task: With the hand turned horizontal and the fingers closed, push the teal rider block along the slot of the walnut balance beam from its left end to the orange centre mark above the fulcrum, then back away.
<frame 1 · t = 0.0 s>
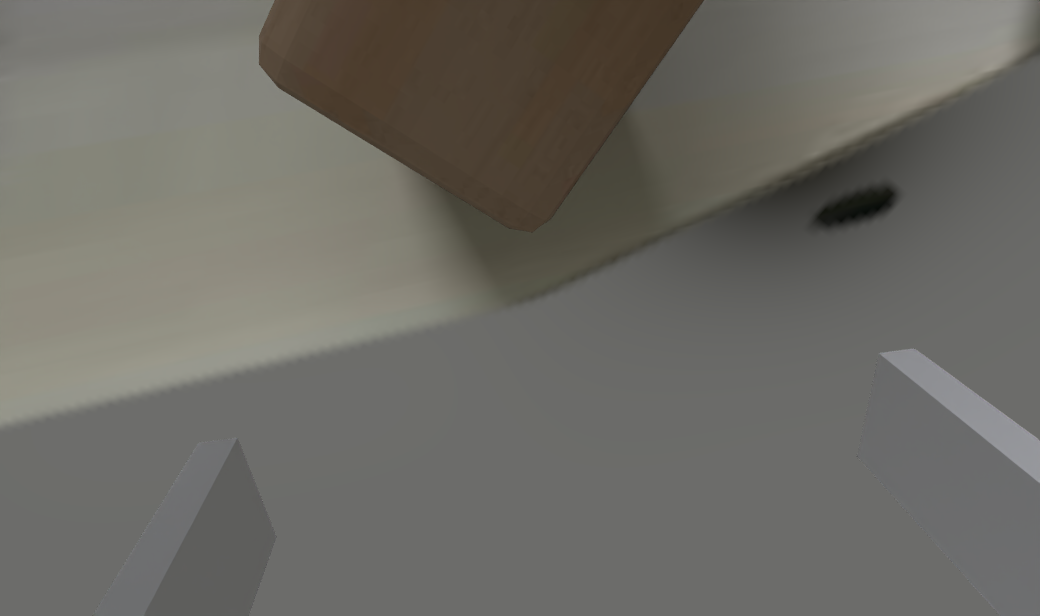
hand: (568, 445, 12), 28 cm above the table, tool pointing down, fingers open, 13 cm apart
wooden block: (474, 14, 34), on the table
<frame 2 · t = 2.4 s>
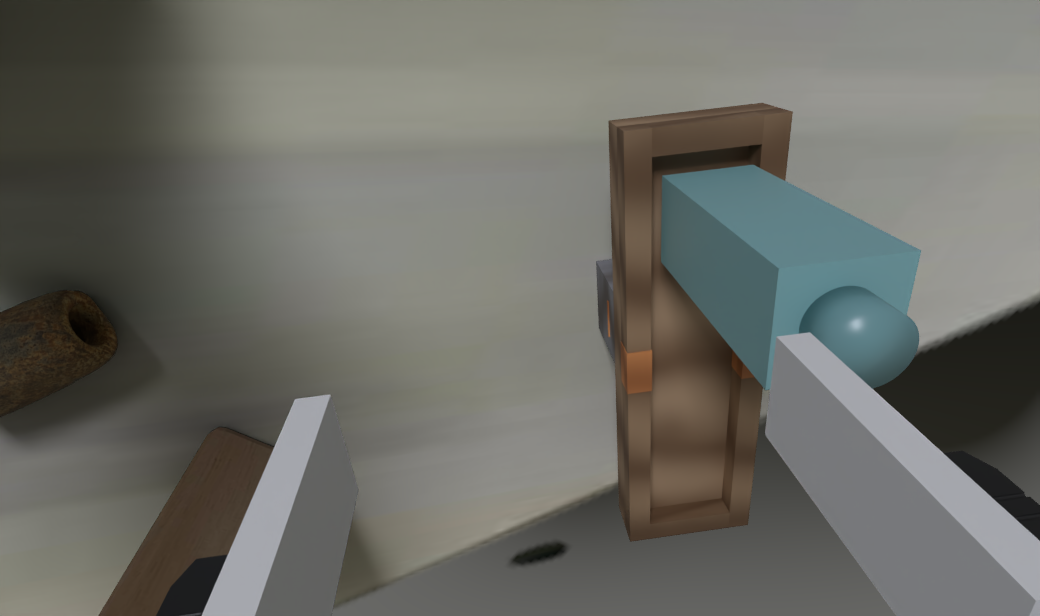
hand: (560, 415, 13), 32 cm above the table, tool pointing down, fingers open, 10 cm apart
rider: (760, 259, 27), point 18 cm above the table, slide at -10.0 cm
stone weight: (33, 341, 45), on the table
wooden block: (251, 478, 53), on the table
beam: (646, 289, 48), on the table
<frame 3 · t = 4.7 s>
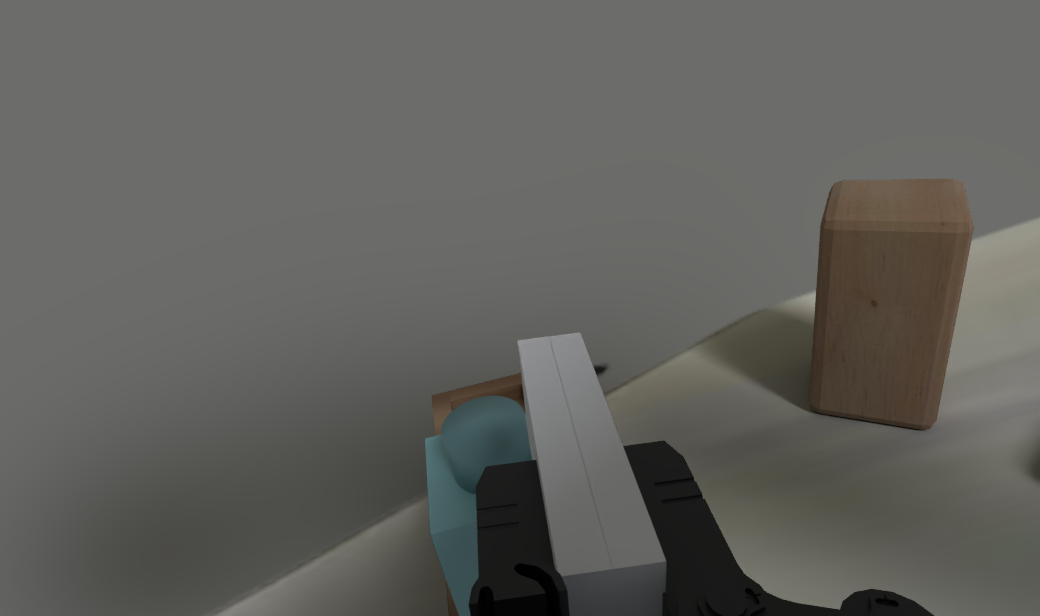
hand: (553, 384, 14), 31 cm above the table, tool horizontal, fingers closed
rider: (522, 575, 25), point 18 cm above the table, slide at -10.0 cm
wooden block: (870, 394, 57), on the table
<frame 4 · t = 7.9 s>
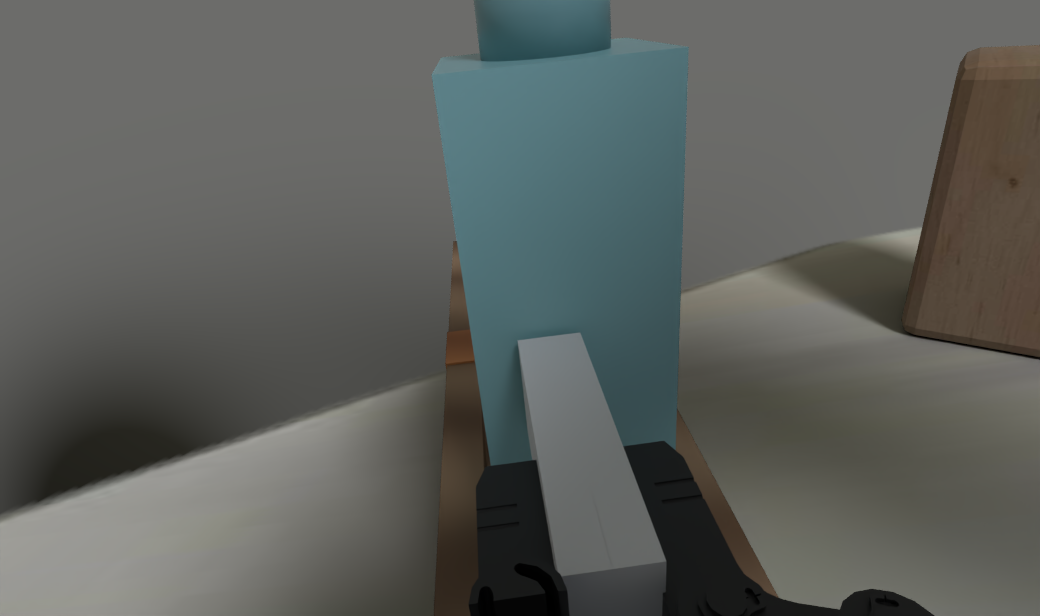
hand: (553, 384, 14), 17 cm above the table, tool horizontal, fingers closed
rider: (562, 296, 16), point 18 cm above the table, slide at -9.9 cm, touching gripper
wooden block: (976, 323, 47), on the table
beam: (556, 512, 34), on the table
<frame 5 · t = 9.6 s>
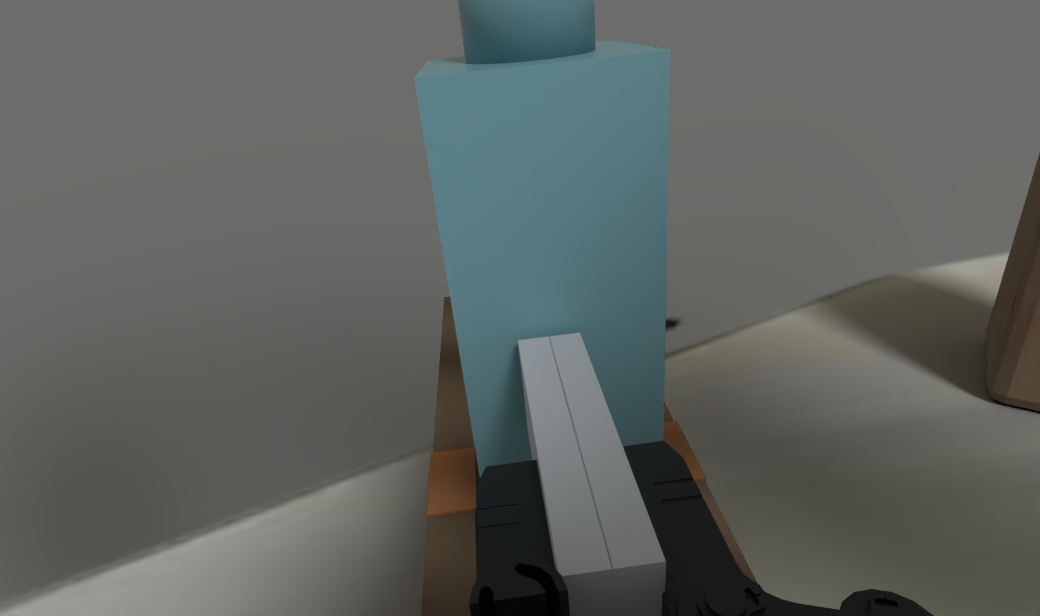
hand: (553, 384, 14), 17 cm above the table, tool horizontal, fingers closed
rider: (549, 298, 16), point 18 cm above the table, slide at -0.9 cm, touching gripper
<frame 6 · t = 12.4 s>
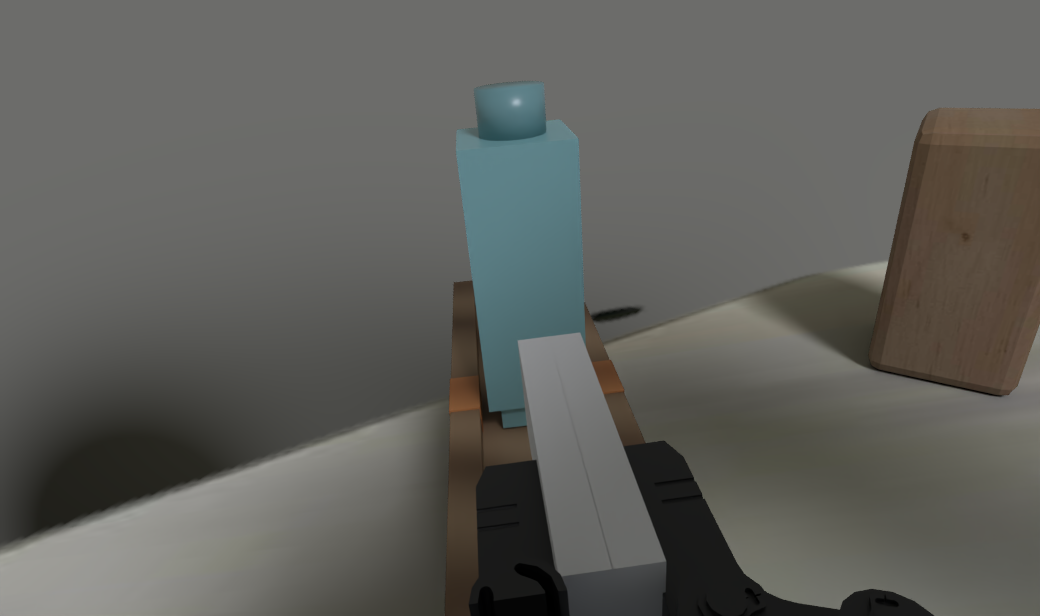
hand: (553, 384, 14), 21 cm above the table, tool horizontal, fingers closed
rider: (523, 264, 29), point 18 cm above the table, slide at 0.3 cm
wooden block: (937, 359, 51), on the table
beam: (546, 538, 37), on the table
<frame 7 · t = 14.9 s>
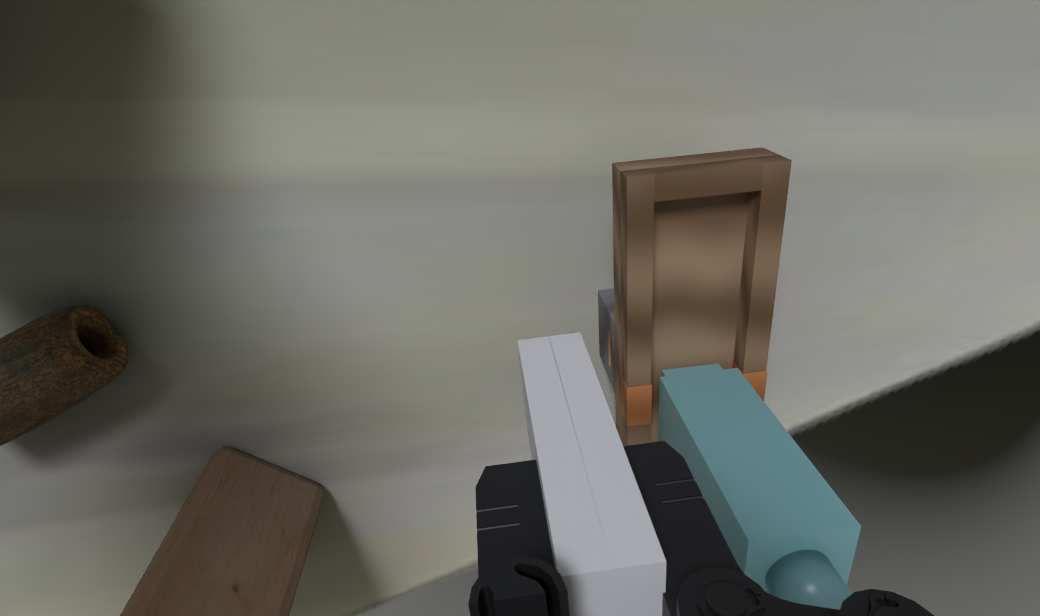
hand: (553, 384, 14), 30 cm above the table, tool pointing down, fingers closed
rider: (740, 477, 32), point 18 cm above the table, slide at 0.3 cm
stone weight: (48, 359, 46), on the table
wooden block: (254, 497, 54), on the table
beam: (646, 318, 49), on the table
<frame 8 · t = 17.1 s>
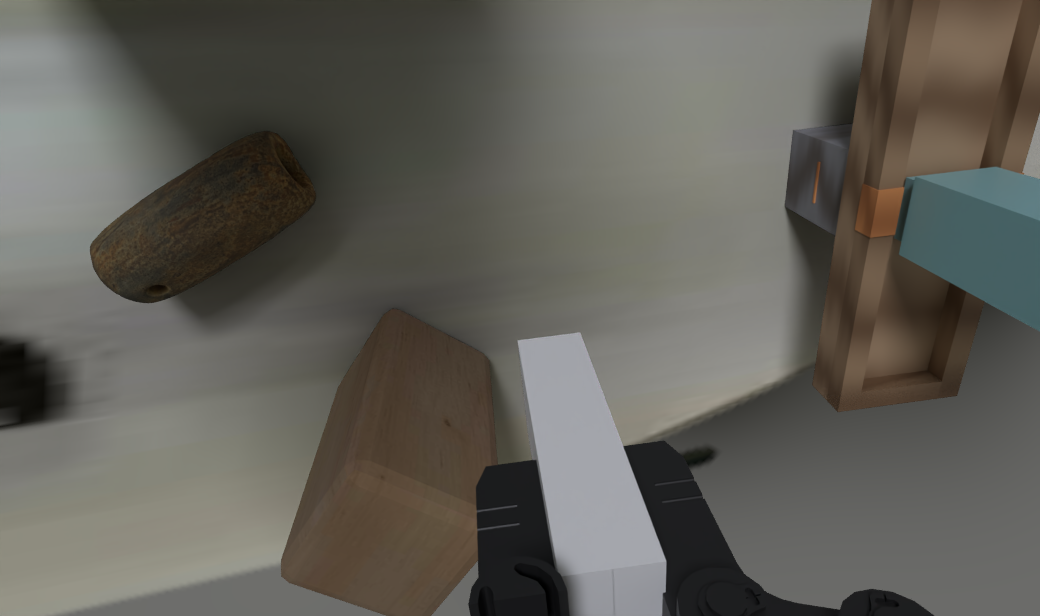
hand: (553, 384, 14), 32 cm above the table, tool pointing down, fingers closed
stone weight: (225, 205, 44), on the table
wooden block: (414, 369, 52), on the table
beam: (838, 163, 47), on the table
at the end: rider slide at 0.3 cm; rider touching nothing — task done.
